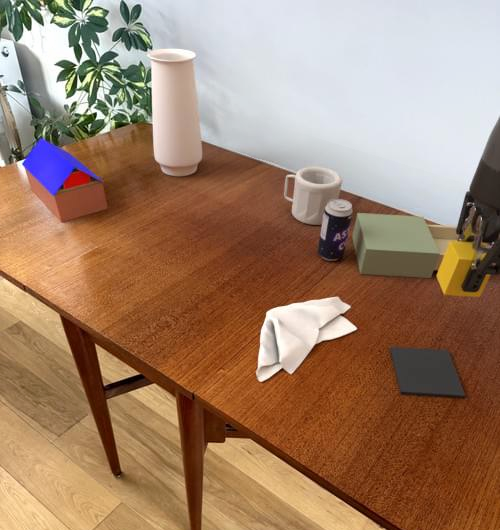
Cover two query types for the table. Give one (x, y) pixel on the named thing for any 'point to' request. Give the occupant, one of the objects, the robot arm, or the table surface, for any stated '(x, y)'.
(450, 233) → the drawer
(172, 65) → the vase
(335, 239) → the beverage can
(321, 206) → the mug
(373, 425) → the table surface
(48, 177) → the house
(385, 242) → the cabinet
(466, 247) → the yellow block
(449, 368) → the mat
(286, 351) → the cloth
